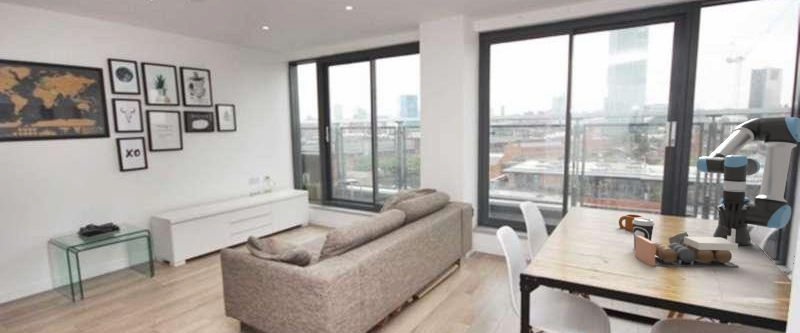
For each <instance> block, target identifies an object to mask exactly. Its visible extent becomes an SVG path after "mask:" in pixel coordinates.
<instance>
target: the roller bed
mask: <svg viewBox="0 0 800 333" xmlns="http://www.w3.org/2000/svg"><path fill="white" fill-rule="evenodd" d="M654 267H684V268H686V267H689V268H691V267H699V268H700V267H701V268H739V265H737V264H735V263H733V262H730V261H729V262H727V263H721V262H719V261H717V260H715V259H712V261H710V262H708V263H704V262H701V261H699V260H697V259H694V260H693V261H692V262H690V263H686V262H684V261H682V260H680V259H678V258H676V260H675V261H673V262H666V261H664V260H663V259H661V258H659V257H657V256H656V255H655V266H654Z"/></svg>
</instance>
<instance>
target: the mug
mask: <svg viewBox="0 0 800 333" xmlns="http://www.w3.org/2000/svg"><path fill="white" fill-rule="evenodd" d="M634 218H644V217H643V215H640V214H635V213H634V214H632V213H631V214H630V213H629V214H625V215H622V216H621V217H620V218H619V219H618V225H619V226H618V227H620V229H623V230H624V229H625V230H627V231H629V232H634V231H633V223H632V221H633V220H634ZM623 221H625V222H624V225H623Z"/></svg>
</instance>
